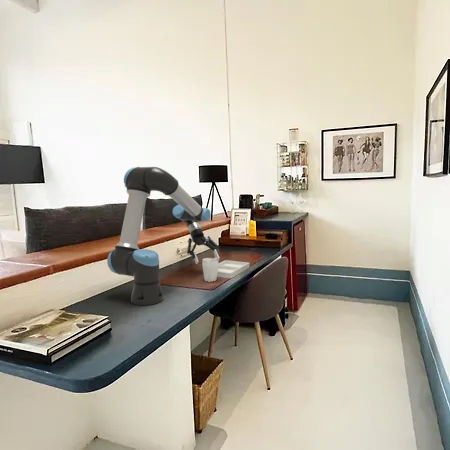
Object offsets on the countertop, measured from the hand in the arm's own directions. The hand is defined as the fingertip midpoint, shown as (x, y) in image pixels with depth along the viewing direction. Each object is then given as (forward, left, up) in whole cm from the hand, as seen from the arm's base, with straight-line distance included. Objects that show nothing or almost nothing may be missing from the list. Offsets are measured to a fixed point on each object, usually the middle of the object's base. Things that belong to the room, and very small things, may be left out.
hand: (208, 261), depth 203 cm
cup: (-1, -5, -10) cm, 11 cm away
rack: (+18, +7, -10) cm, 21 cm away
